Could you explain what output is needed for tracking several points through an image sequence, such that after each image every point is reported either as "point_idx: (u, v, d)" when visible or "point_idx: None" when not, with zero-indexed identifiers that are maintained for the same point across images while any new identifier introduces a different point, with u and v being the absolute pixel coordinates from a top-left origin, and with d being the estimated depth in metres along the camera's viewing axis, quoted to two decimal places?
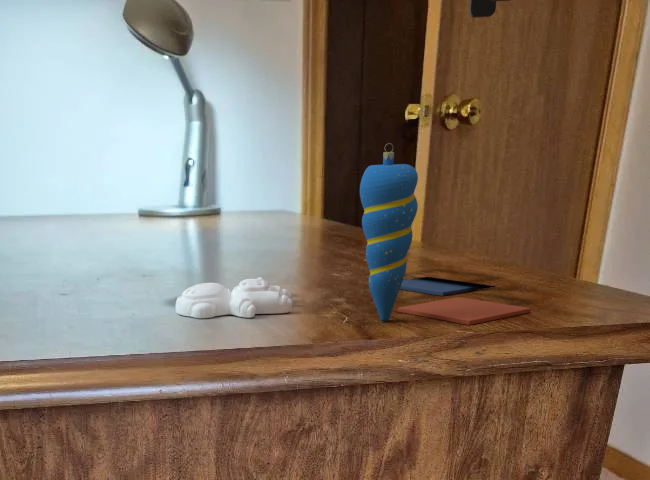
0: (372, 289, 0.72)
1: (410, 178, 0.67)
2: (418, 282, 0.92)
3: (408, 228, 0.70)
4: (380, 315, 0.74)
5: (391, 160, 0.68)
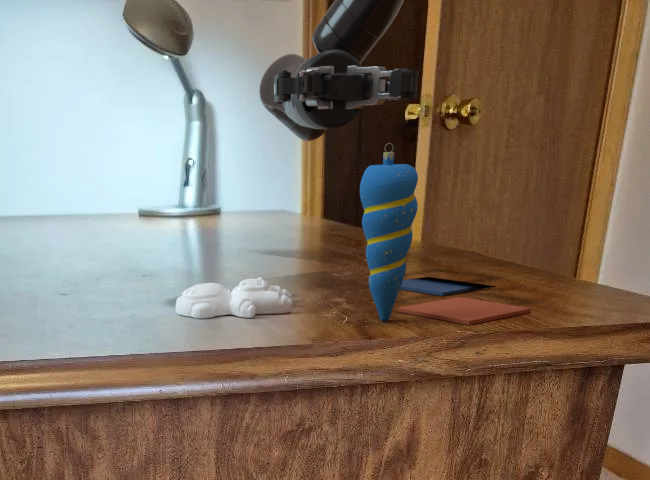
0: (372, 289, 0.72)
1: (410, 178, 0.67)
2: (418, 282, 0.92)
3: (408, 228, 0.70)
4: (380, 315, 0.74)
5: (391, 160, 0.68)
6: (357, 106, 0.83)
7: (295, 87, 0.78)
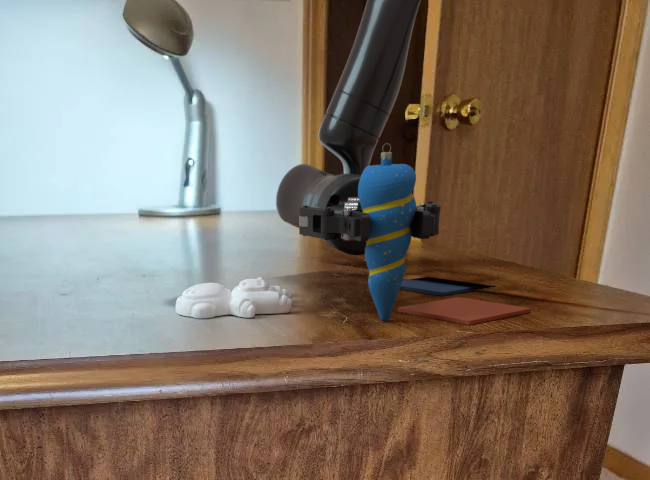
0: (371, 290, 0.72)
1: (408, 178, 0.67)
2: (418, 282, 0.92)
3: (407, 228, 0.69)
4: (380, 315, 0.74)
5: (389, 160, 0.68)
6: None
7: (340, 226, 0.71)
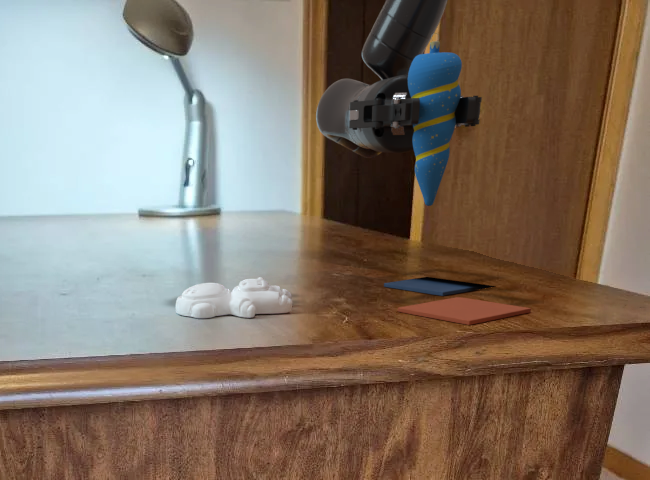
0: (418, 174, 0.79)
1: (455, 64, 0.73)
2: (418, 282, 0.92)
3: (452, 113, 0.76)
4: (425, 199, 0.80)
5: (437, 49, 0.74)
6: None
7: (390, 114, 0.78)
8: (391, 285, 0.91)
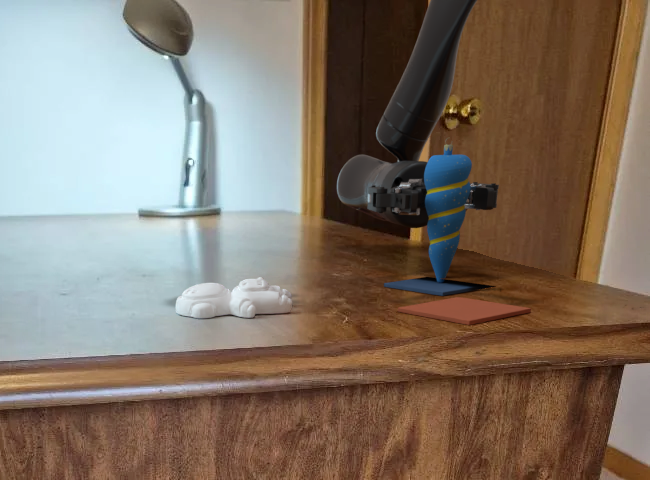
0: (431, 256, 0.89)
1: (466, 165, 0.84)
2: (418, 282, 0.92)
3: (463, 206, 0.87)
4: (437, 277, 0.91)
5: (450, 151, 0.85)
6: None
7: (392, 201, 0.89)
8: (391, 285, 0.91)
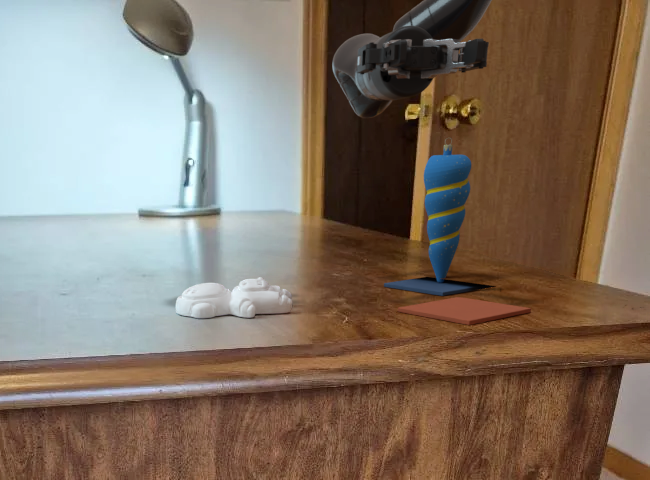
0: (431, 256, 0.89)
1: (466, 165, 0.84)
2: (418, 282, 0.92)
3: (462, 206, 0.87)
4: (437, 277, 0.91)
5: (450, 151, 0.85)
6: (432, 75, 0.93)
7: (381, 56, 0.88)
8: (391, 285, 0.91)
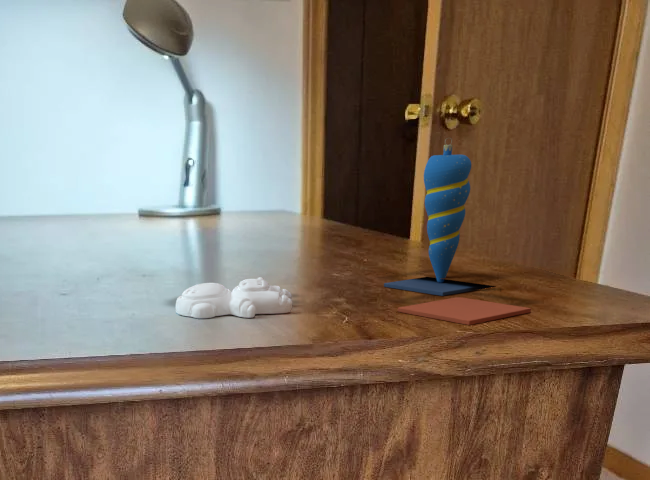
0: (431, 256, 0.89)
1: (466, 165, 0.84)
2: (418, 282, 0.92)
3: (462, 206, 0.87)
4: (437, 277, 0.91)
5: (450, 151, 0.85)
6: None
7: None
8: (391, 285, 0.91)
